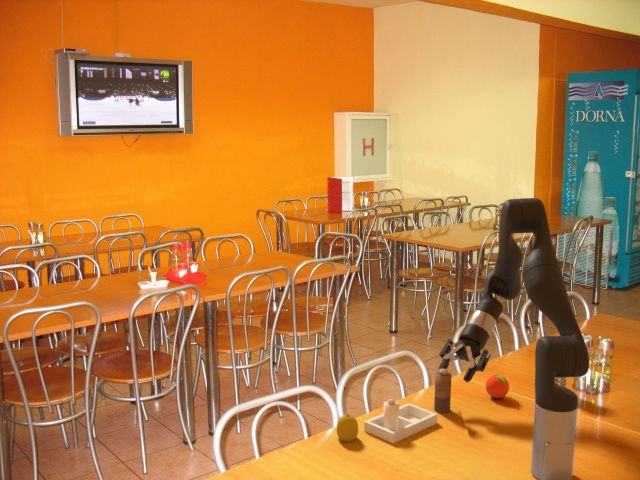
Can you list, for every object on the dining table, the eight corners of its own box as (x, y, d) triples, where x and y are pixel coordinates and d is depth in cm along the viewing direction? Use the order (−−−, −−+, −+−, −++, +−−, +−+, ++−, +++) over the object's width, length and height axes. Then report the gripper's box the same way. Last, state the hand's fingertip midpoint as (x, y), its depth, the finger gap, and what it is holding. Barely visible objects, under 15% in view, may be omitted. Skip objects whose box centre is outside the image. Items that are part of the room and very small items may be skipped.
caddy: (408, 416, 192) (408, 403, 191) (437, 428, 185) (437, 414, 184) (363, 435, 180) (364, 421, 179) (392, 448, 173) (393, 433, 172)
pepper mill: (450, 418, 191) (452, 373, 189) (434, 418, 191) (436, 372, 189) (448, 412, 195) (450, 367, 193) (433, 411, 196) (434, 367, 193)
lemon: (356, 449, 172) (356, 419, 171) (334, 447, 173) (334, 417, 172) (359, 440, 177) (360, 410, 176) (338, 437, 179) (338, 408, 177)
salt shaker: (398, 434, 177) (399, 402, 176) (382, 434, 177) (383, 401, 176) (397, 428, 181) (398, 396, 180) (382, 427, 181) (383, 395, 180)
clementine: (515, 401, 203) (516, 378, 202) (496, 404, 201) (497, 381, 200) (499, 391, 211) (500, 369, 210) (480, 394, 208) (481, 372, 207)
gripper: (453, 317, 203) (427, 363, 197) (494, 328, 193) (468, 376, 187) (463, 331, 208) (438, 376, 202) (504, 342, 197) (479, 390, 192)
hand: (453, 376), depth 195 cm, fingers open, 8 cm apart
